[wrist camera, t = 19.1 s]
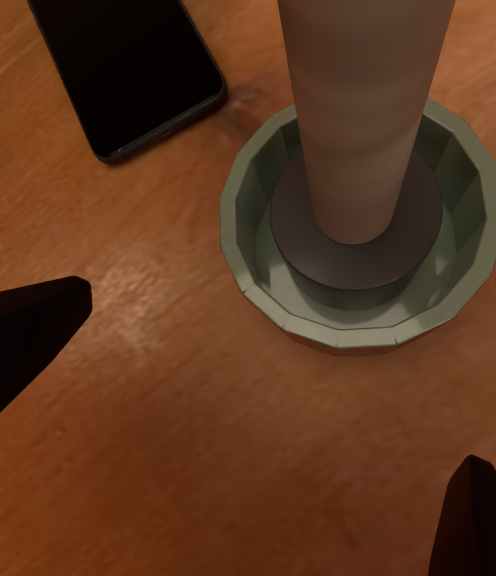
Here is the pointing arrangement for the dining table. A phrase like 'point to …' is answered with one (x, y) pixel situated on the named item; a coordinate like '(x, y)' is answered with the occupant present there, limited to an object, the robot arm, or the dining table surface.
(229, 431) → the dining table surface
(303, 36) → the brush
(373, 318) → the pale green bowl
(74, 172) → the dining table surface
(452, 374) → the dining table surface
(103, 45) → the smartphone
